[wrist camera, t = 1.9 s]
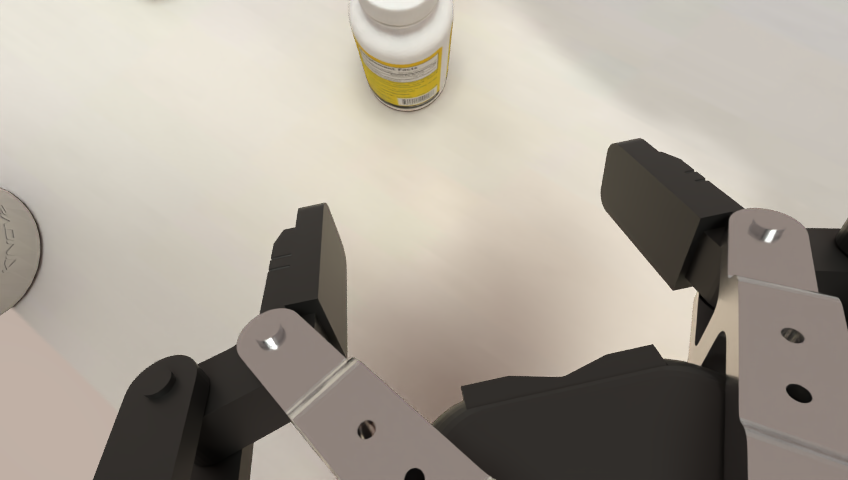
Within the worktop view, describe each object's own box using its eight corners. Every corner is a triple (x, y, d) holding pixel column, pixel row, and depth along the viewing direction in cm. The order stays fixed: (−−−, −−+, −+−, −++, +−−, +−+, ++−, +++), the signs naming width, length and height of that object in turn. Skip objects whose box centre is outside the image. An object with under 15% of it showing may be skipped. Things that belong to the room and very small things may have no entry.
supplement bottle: (392, 22, 28) (377, -113, 18) (461, 61, 28) (482, -55, 18) (351, 88, 28) (312, -13, 18) (420, 128, 27) (420, 48, 18)
